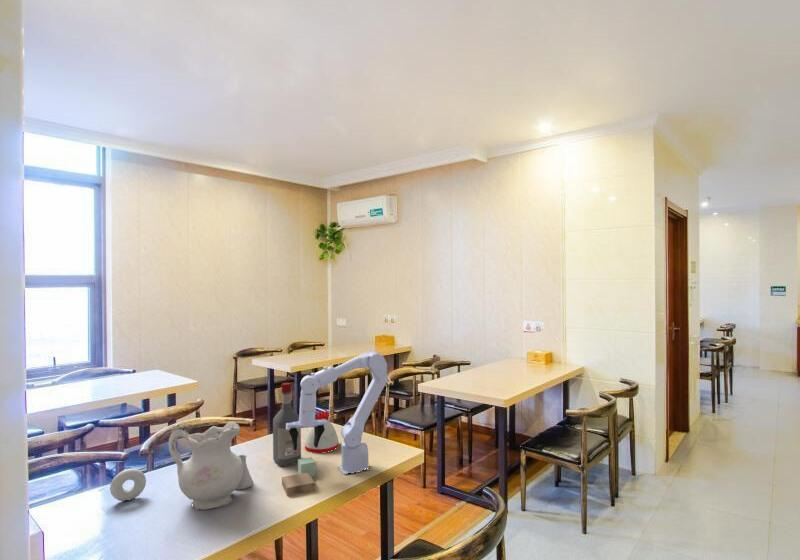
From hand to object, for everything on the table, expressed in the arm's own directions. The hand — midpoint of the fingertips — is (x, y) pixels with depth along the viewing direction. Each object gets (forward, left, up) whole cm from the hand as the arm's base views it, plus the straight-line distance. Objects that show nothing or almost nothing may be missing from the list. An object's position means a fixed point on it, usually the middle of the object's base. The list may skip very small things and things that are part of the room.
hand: (305, 447), depth 165 cm
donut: (+56, -6, -10) cm, 57 cm away
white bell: (-12, -24, -10) cm, 29 cm away
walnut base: (+5, +9, -10) cm, 14 cm away
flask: (+22, -1, -10) cm, 24 cm away
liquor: (+4, -15, -10) cm, 18 cm away
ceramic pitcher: (+33, +6, -10) cm, 35 cm away
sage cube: (0, 0, -10) cm, 10 cm away
